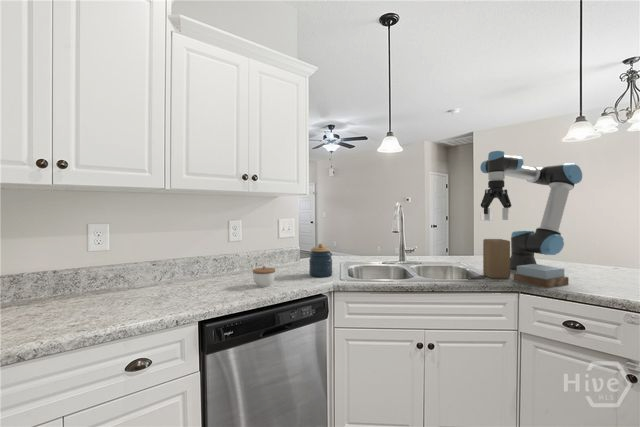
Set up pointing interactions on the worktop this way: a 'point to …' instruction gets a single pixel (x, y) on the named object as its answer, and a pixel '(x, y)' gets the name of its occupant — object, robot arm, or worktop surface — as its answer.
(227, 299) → the worktop surface
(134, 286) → the worktop surface
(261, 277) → the lidded jar
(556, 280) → the tower base
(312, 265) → the canister
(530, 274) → the tower top
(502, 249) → the block
